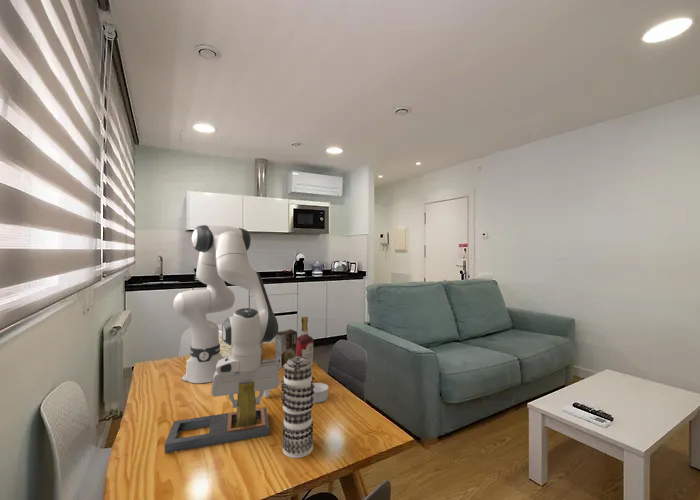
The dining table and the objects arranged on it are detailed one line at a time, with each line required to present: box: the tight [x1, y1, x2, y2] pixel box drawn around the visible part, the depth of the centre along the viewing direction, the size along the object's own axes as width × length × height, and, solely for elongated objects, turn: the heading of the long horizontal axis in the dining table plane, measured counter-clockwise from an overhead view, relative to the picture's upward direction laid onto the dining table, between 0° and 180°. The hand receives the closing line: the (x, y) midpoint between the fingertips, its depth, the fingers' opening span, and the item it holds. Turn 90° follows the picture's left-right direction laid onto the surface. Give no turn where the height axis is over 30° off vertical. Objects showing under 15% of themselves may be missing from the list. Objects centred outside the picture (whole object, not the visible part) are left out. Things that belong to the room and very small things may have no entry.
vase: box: [235, 381, 257, 428], centre depth 102 cm, size 6×6×14 cm
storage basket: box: [218, 326, 264, 358], centre depth 172 cm, size 24×16×15 cm
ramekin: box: [312, 382, 330, 404], centre depth 122 cm, size 9×9×4 cm
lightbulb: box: [262, 389, 272, 399], centre depth 123 cm, size 6×6×11 cm
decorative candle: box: [280, 357, 315, 459], centre depth 91 cm, size 9×9×25 cm
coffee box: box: [274, 328, 298, 369], centre depth 159 cm, size 9×6×16 cm
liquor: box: [296, 316, 314, 383], centre depth 135 cm, size 7×7×28 cm
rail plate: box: [164, 406, 270, 454], centre depth 100 cm, size 13×28×3 cm, turn 109°
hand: (246, 405), depth 102 cm, fingers closed on vase, 5 cm apart
